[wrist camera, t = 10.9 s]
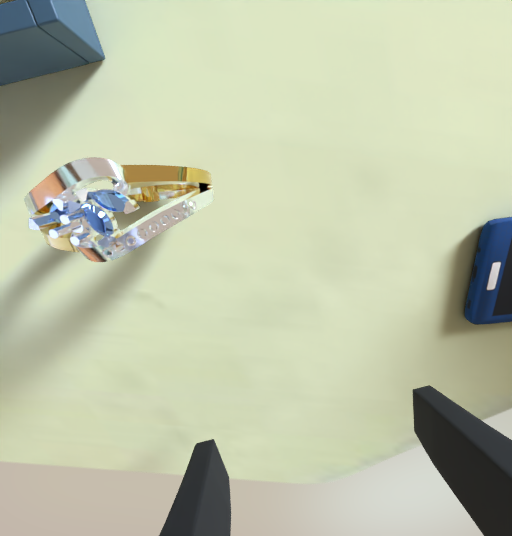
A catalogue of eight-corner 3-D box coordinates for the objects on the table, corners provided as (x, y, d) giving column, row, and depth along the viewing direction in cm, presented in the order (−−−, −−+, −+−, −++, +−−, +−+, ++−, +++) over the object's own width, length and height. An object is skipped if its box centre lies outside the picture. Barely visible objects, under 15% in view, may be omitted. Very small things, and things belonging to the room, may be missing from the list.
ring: (96, 225, 16) (-19, 280, 9) (80, 165, 15) (-69, 168, 8) (220, 214, 16) (212, 258, 9) (213, 155, 15) (197, 148, 8)
